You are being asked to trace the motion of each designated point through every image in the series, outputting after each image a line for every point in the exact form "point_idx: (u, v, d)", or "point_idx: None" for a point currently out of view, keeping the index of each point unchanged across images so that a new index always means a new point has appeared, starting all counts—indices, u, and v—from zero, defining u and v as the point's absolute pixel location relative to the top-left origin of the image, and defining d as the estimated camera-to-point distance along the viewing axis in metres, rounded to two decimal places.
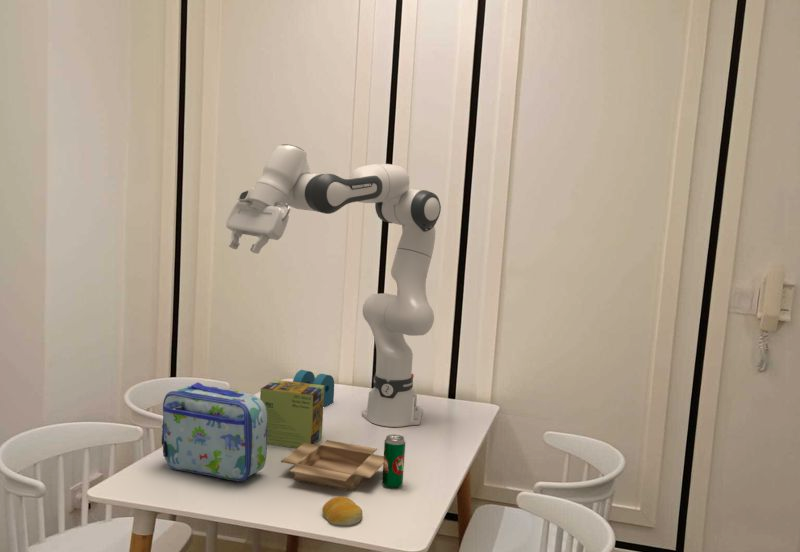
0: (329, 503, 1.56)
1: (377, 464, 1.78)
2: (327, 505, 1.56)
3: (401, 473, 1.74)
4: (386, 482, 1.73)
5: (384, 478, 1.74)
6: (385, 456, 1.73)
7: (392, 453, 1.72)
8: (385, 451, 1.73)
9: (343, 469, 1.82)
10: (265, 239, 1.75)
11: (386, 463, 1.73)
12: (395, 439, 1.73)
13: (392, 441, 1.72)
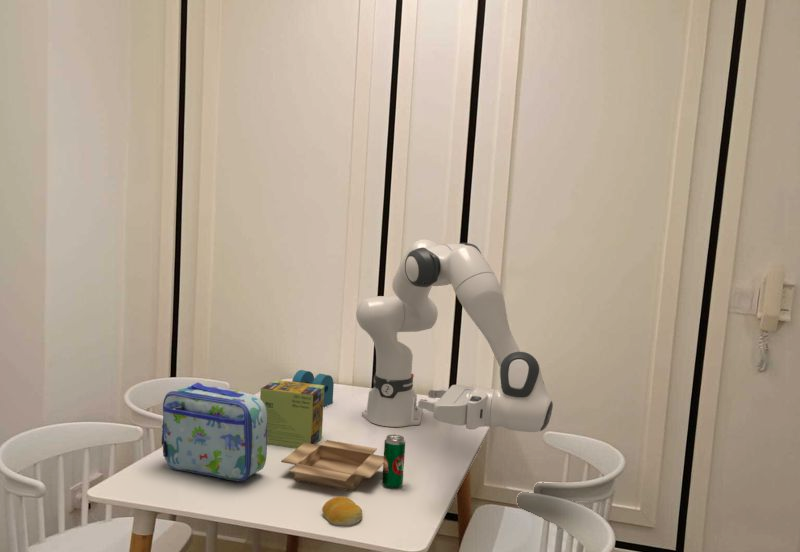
0: (329, 503, 1.56)
1: (377, 464, 1.78)
2: (327, 505, 1.56)
3: (401, 473, 1.74)
4: (386, 482, 1.73)
5: (384, 478, 1.74)
6: (385, 456, 1.73)
7: (392, 453, 1.72)
8: (385, 451, 1.73)
9: (343, 469, 1.82)
10: None
11: (386, 463, 1.73)
12: (395, 439, 1.73)
13: (392, 441, 1.72)
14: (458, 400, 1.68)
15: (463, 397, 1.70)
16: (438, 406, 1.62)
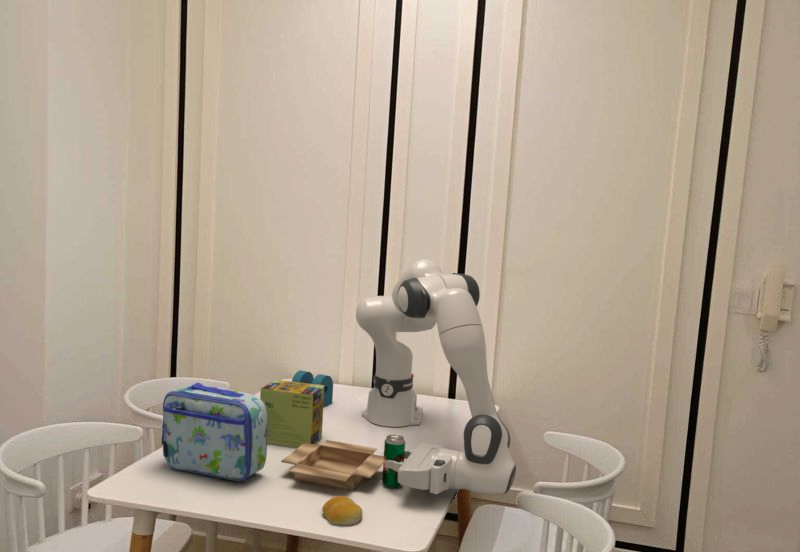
0: (329, 503, 1.57)
1: (377, 464, 1.78)
2: (327, 505, 1.56)
3: None
4: (386, 482, 1.73)
5: (384, 478, 1.74)
6: (385, 456, 1.73)
7: (392, 453, 1.72)
8: (385, 451, 1.73)
9: (343, 469, 1.82)
10: None
11: None
12: (395, 439, 1.73)
13: (392, 441, 1.72)
14: (423, 462, 1.70)
15: (428, 458, 1.72)
16: (402, 471, 1.64)
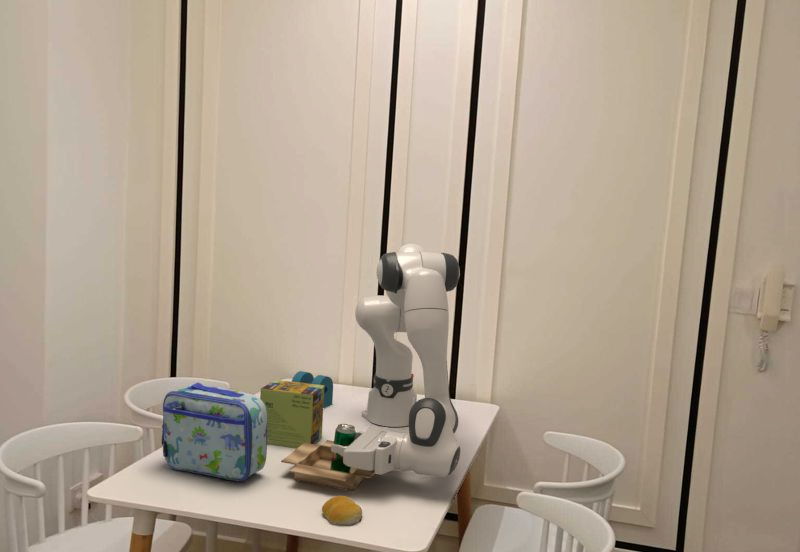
0: (329, 502, 1.57)
1: None
2: (327, 504, 1.57)
3: None
4: (333, 469, 1.77)
5: (332, 465, 1.78)
6: None
7: (341, 441, 1.76)
8: (335, 439, 1.77)
9: None
10: None
11: None
12: (345, 428, 1.77)
13: (342, 429, 1.76)
14: (369, 444, 1.73)
15: (376, 441, 1.76)
16: (347, 452, 1.67)
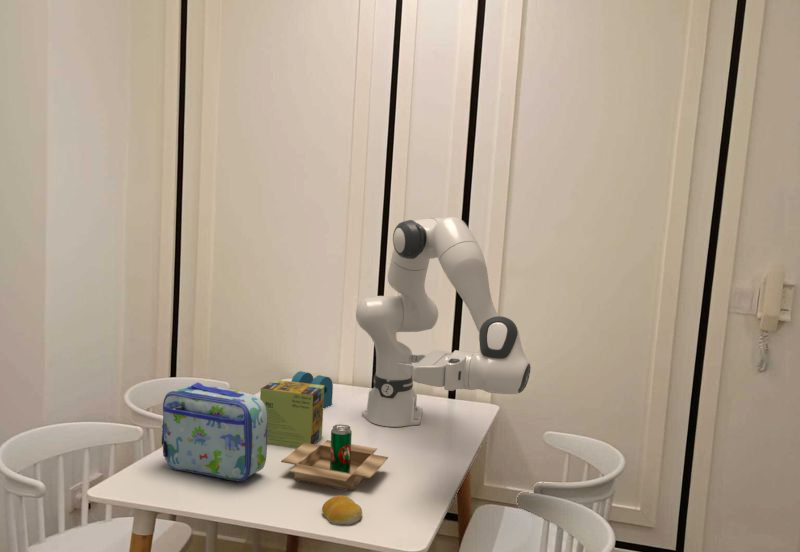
0: (329, 502, 1.57)
1: (377, 464, 1.78)
2: (327, 504, 1.57)
3: (347, 462, 1.77)
4: None
5: (331, 467, 1.77)
6: (331, 445, 1.77)
7: (338, 442, 1.76)
8: (331, 441, 1.77)
9: None
10: None
11: (333, 453, 1.77)
12: (341, 429, 1.76)
13: (337, 431, 1.76)
14: (437, 363, 1.69)
15: (442, 360, 1.72)
16: (416, 368, 1.63)
